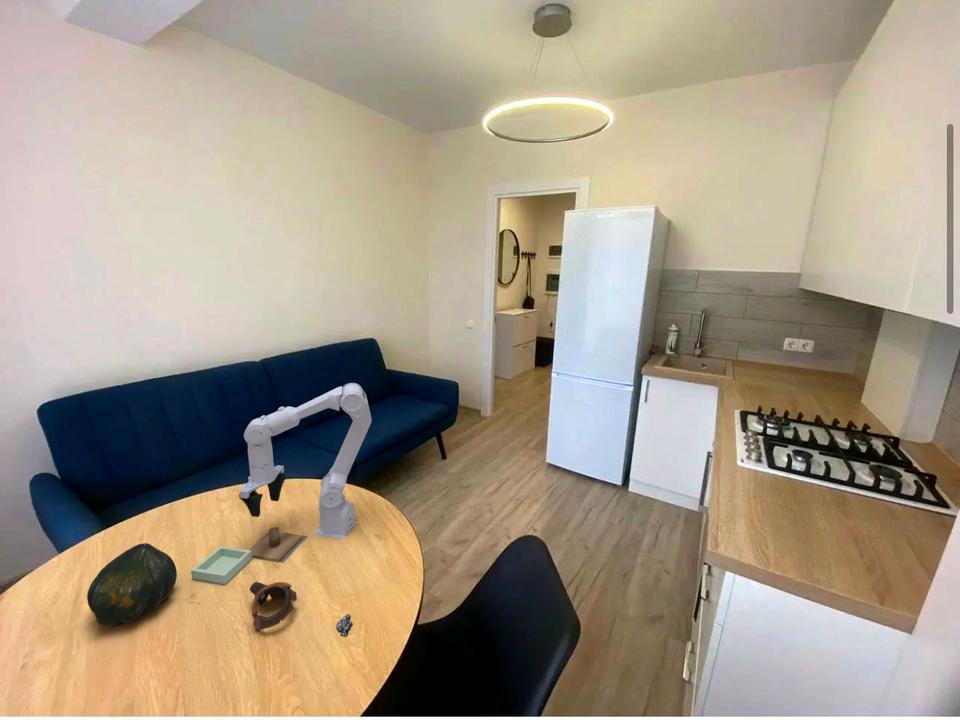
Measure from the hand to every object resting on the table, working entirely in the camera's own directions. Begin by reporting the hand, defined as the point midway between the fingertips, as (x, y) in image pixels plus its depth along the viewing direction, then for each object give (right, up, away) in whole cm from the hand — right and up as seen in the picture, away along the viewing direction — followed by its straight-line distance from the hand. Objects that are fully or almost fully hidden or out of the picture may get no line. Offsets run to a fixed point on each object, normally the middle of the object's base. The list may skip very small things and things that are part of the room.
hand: (265, 507), depth 109 cm
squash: (-17, -14, -21) cm, 31 cm away
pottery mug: (+13, -15, -22) cm, 30 cm away
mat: (+4, -10, -1) cm, 11 cm away
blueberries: (+31, -17, -24) cm, 43 cm away
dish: (-5, -12, -10) cm, 16 cm away
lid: (+3, -10, -2) cm, 11 cm away
